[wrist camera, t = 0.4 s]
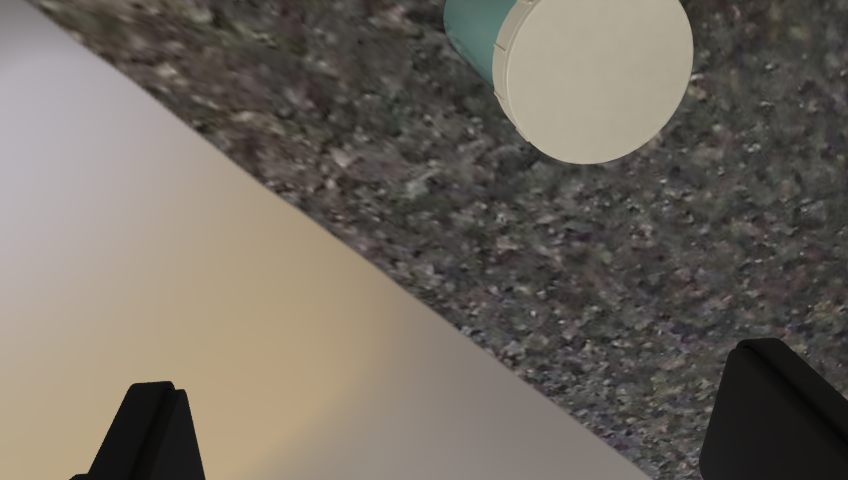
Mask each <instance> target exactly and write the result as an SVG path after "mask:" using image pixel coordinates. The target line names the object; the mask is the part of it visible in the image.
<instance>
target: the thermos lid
mask: <svg viewBox="0 0 848 480" xmlns="http://www.w3.org/2000/svg"><path fill="white" fill-rule="evenodd" d="M493 46H494V47H495V48H494V53H493V64H492V72H493V82H494V87H495V91H494V94H495V95H496V96H497V98H498V100H499V103H500V105H501V107H502V109H503V111H504V112H505V114H506V115H507V117H508V118H509V119H510V121H511V122H512V123H513V124H514V125H515V126H516V127H517V128H516V130H517V131H518V132H519V133H520V134H521V135H522V137H523V138H524V139H525V140H526V141H527V142H529V141H530V142H531V143H532V144H533V145H534V146H535V147H537V148H538V149H539V150H540V151H542V152H544V153H545V154H547V155H549V156H551V157H553V158H556V159H558V160H561V161H565V162H570V163H577V164H595V163H601V162H607V161H610V160H613V159H617V158H619V157H622V156H624V155H626V154H629V153H630V152H632V151H634V150H636V149H637V148H639V147H641V146H642V145H643V144H645V143H646V142H648V141H649V140H650V139H651V138H652V137H653V136H655V135H656V134H657V133H658V132H659V131H660V130H661V129H662V127H663V126H664V125H665V124H666V123H667V122H668V120H669V119H670V118H671V116H672V115H673V114H674V112H675V110H676V109H677V107H678V105H679V104H680V102H681V100H682V98H683V95H684V93H685V91H686V88H687V85H688V82H689V79H690V75H691V70H692V65H693V37H692V32H691V27H690V24H689V21H688V18H687V15H686V13H685V11H684V9H683V7H682V5H681V3H680V2H679V0H518V1H517V2H516V3H515V5H514V6H513V7H512V8H511V10H510V11H509V13H508V15H507V17H506V18H505V20H504V22H503V24H502V26H501V29H500V31H499V33H498V37H497V40H496V43H494V45H493Z"/></svg>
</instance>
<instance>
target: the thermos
mask: <svg viewBox="0 0 848 480" xmlns="http://www.w3.org/2000/svg"><path fill="white" fill-rule="evenodd" d="M517 1H518V0H446V3H445V7H444V27H445V32H446V35H447V37H448V39H449V41H450V43H451V45H452V46H453V48H454V49H455V50H456V51H457V52H458V53H459V54H460V55H461V56H462V57H463V58H464V59H465V60H466V61H467V62H468V63H469V64H470V65H471V66H472V67H473V68H474V69H475V70H476V71H477V72H478V73H479V74H480V75H481V76H482V77H483V78H484V79H485V80H486V81H487V82H488V83H489V84H490V85H491V86H492V87H493V88H494V89H495V87H494V82H493V72H492V64H493V53H494V48H495V47H494V46H493V45H494V43H496V40H497V37H498V33H499V31H500V29H501V26H502V24H503V22H504V20H505V18H506V17H507V15H508V13H509V11H510V10H511V8H512V7H513V6H514V5H515V3H516V2H517Z"/></svg>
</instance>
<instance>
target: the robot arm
mask: <svg viewBox="0 0 848 480" xmlns="http://www.w3.org/2000/svg"><path fill="white" fill-rule="evenodd" d="M699 468H700V472H701V475H702V478H703V479H704V480H848V400H847V399H845V398H844V397H843V396H842V395H841V394H840V393H839V392H838V391H837V390H836V389H834V388H833V387H832V386H831V385H830V384H829V383H828V382H827V381H826V380H825V379H823V378H822V377H821V376H820V375H819V374H818V373H817V372H816V371H815V370H814V369H812V368H811V367H810V366H809V365H808V364H807V363H806V362H805V361H804V360H803V359H801V358H800V357H799V356H798V355H797V354H796V353H795V352H794V351H793V350H792V349H791V348H789V347H788V346H787V345H786V344H785V343H784V342H783V341H781V340H780V339H777V338H760V339H747V340H742V341H740V342H739V343H738V344H737V346H736V349H732V350H731V351H730V353H729V355H728V358H727V361H726V365H725V369H724V372H723V376H722V379H721V383H720V386H719V390H718V393H717V397H716V401H715V404H714V408H713V411H712V415H711V418H710V422H709V425H708V429H707V432H706V436H705V440H704V443H703V447H702V450H701V454H700V457H699ZM70 480H205V475H204V470H203V466H202V461H201V457H200V453H199V448H198V443H197V439H196V434H195V429H194V425H193V420H192V416H191V411H190V407H189V402H188V398H187V394H186V392H185V390H184V389H179V390H175V388H174V385H173V383H172V382H170V381H162V382H148V383H135V384H133V385H131V386H130V388H129V389H128V391H127V393H126V395H125V397H124V400H123V401H122V404H121V406H120V408H119V410H118V412H117V414H116V416H115V418H114V420H113V422H112V424H111V426H110V428H109V430H108V432H107V435H106V437H105V439H104V441H103V443H102V445H101V447H100V449H99V451H98V453H97V455H96V457H95V460H94V461H93V464H92V466H91V468H90V470H89V472H88V473H87V474H78V475H77V474H76V475H75V476H73V477H72V478H71V479H70Z"/></svg>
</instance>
